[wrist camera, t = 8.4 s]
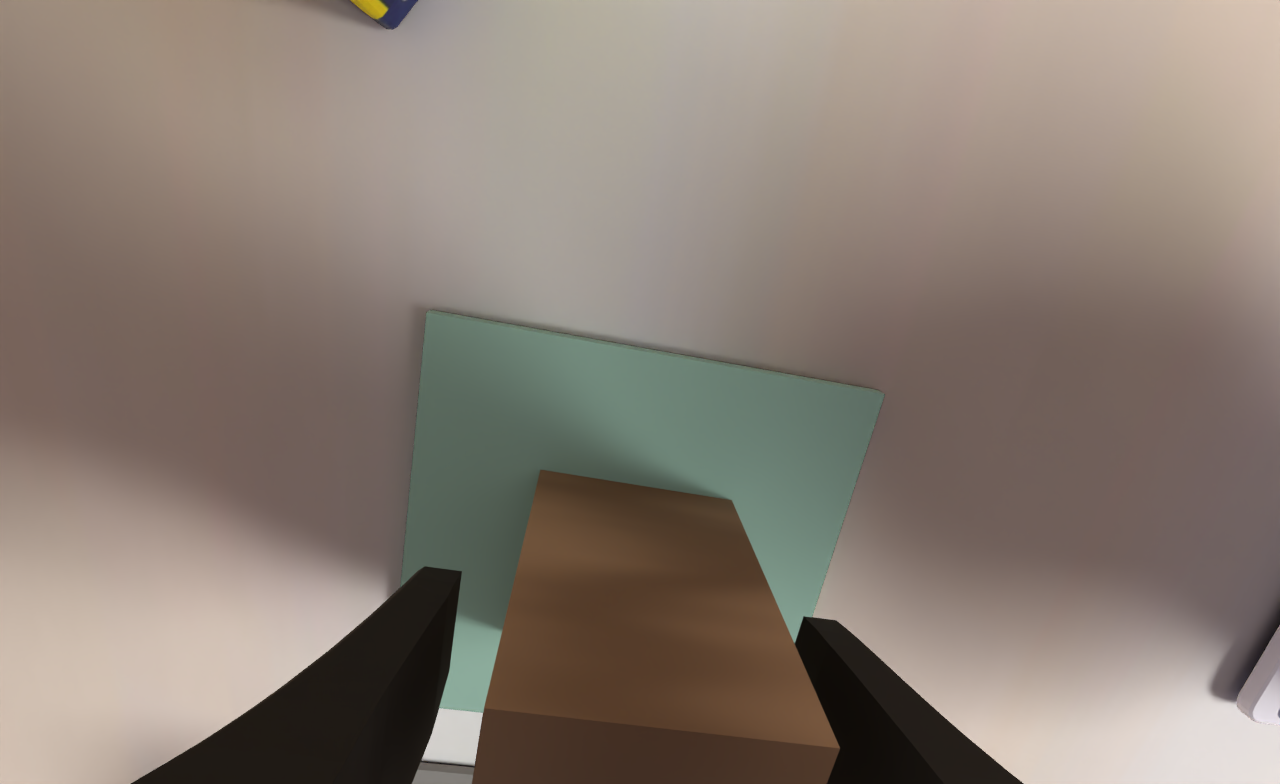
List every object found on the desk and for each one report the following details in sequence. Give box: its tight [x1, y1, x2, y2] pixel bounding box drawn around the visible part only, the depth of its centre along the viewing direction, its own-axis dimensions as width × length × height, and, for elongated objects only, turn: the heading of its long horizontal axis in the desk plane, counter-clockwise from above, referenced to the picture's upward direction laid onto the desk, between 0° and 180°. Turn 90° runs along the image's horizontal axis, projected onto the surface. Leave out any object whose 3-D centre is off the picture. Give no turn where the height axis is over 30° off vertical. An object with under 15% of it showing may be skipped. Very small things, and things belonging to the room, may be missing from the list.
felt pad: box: [400, 310, 885, 713], centre depth 13 cm, size 9×9×1 cm
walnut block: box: [472, 469, 840, 784], centre depth 10 cm, size 4×4×6 cm
